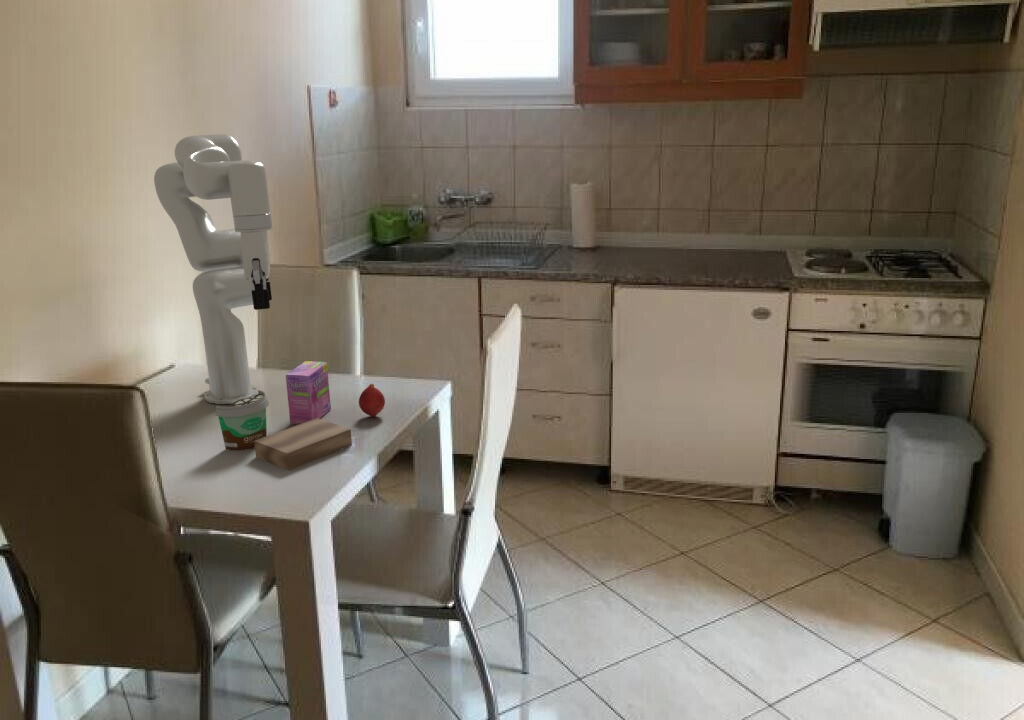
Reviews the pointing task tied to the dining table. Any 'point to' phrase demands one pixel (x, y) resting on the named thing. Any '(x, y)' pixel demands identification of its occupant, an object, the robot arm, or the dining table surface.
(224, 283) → the robot arm
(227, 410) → the food container
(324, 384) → the box
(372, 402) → the onion
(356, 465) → the dining table surface
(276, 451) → the brown flat block
